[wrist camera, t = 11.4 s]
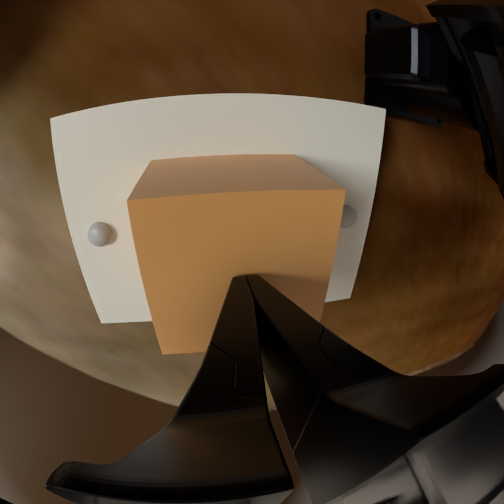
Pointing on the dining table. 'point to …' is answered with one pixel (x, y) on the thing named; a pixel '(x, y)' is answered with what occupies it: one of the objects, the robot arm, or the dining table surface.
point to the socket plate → (203, 144)
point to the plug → (230, 236)
